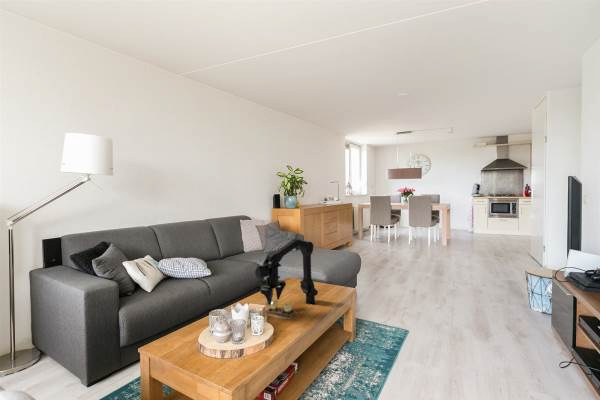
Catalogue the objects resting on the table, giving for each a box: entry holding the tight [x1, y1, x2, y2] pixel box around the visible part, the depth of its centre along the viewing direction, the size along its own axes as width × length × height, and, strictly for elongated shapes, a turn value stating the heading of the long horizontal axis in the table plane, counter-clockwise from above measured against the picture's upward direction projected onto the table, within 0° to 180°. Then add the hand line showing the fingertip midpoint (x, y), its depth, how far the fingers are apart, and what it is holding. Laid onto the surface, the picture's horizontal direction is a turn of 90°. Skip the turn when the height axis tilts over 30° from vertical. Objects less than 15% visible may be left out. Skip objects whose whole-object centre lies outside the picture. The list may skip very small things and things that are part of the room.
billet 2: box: [283, 302, 292, 315], centre depth 176 cm, size 4×4×6 cm
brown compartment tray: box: [265, 307, 299, 320], centre depth 178 cm, size 11×17×3 cm, turn 63°
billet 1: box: [270, 300, 279, 312], centre depth 180 cm, size 4×4×6 cm
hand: (273, 301), depth 180 cm, fingers open, 9 cm apart
